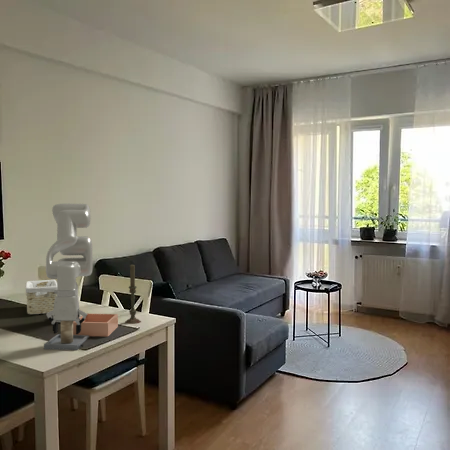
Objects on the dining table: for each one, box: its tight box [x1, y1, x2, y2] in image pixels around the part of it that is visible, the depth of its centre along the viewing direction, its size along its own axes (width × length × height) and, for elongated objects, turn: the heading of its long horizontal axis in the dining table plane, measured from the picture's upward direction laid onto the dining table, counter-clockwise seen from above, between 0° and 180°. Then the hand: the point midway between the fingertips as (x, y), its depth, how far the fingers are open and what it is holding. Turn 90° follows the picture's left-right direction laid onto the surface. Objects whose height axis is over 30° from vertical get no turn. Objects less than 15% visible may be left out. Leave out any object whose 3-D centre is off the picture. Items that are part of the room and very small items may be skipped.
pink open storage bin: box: [73, 312, 119, 337], centre depth 217 cm, size 16×16×7 cm
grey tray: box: [43, 333, 90, 351], centre depth 201 cm, size 14×14×2 cm
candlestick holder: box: [124, 263, 142, 325], centre depth 233 cm, size 9×9×30 cm
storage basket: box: [25, 279, 57, 315], centre depth 260 cm, size 24×16×15 cm
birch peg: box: [60, 321, 74, 344], centre depth 200 cm, size 5×5×10 cm
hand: (67, 333), depth 200 cm, fingers open, 9 cm apart
